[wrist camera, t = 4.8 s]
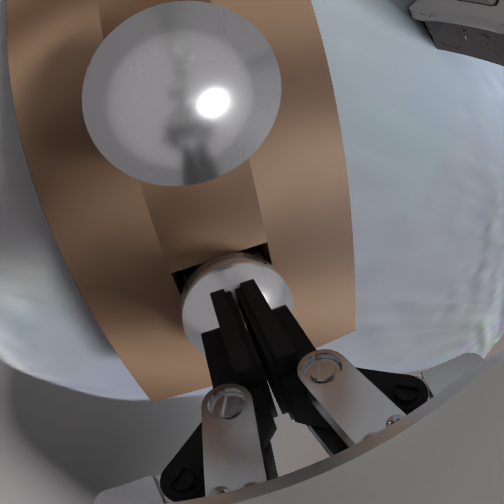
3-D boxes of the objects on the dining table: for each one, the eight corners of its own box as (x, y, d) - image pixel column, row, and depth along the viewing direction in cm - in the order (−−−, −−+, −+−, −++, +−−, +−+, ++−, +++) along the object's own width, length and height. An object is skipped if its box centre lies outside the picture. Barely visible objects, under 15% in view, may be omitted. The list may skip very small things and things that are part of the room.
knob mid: (106, 71, 8) (68, 36, 4) (223, 40, 9) (258, -10, 5) (134, 180, 10) (112, 212, 6) (248, 146, 11) (297, 157, 7)
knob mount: (35, -37, 5) (15, -62, 2) (241, -88, 7) (259, -119, 4) (150, 359, 17) (152, 401, 14) (327, 299, 19) (354, 330, 15)
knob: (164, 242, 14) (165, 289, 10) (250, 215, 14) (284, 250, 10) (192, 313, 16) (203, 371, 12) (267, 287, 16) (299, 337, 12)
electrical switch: (443, -23, 11) (532, -24, 3) (469, 25, 13) (554, 35, 6) (401, 10, 12) (522, 5, 4) (435, 69, 15) (546, 87, 7)
